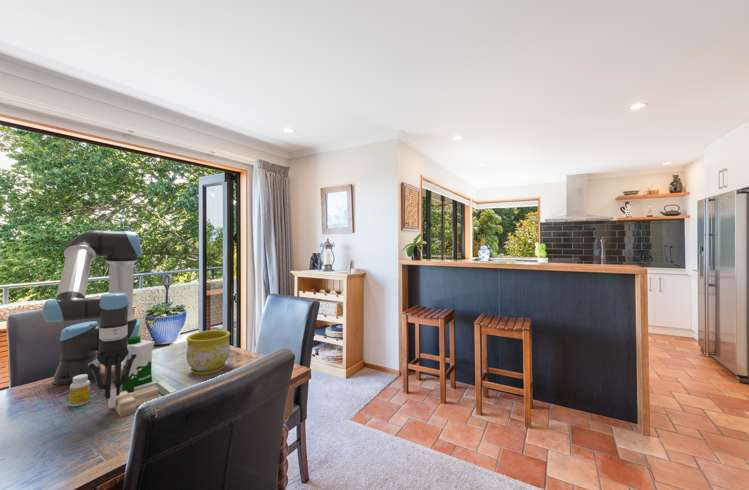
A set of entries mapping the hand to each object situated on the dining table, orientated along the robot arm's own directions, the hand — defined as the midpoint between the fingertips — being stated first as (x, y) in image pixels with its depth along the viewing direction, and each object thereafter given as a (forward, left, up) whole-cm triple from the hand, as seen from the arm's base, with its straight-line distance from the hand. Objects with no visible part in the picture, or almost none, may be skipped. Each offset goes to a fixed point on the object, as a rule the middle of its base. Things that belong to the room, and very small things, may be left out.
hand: (112, 406), depth 105 cm
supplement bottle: (-17, -6, -2) cm, 18 cm away
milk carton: (-16, +11, -2) cm, 20 cm away
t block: (0, +7, -2) cm, 7 cm away
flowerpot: (-12, +37, -2) cm, 39 cm away
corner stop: (-1, +13, -2) cm, 13 cm away
